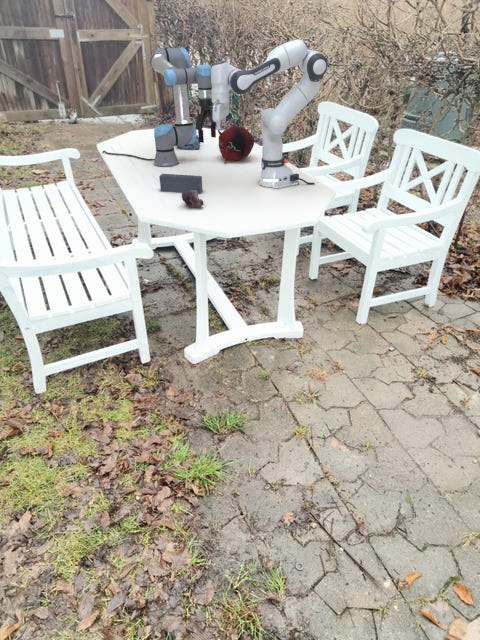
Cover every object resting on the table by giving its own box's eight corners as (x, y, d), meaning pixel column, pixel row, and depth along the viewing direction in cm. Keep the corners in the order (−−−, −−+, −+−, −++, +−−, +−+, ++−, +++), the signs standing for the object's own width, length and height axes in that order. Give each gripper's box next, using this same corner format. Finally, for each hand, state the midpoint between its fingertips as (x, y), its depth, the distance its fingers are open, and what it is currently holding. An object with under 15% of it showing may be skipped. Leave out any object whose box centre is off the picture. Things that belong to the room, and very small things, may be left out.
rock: (197, 203, 236) (179, 206, 232) (195, 186, 232) (177, 189, 228) (206, 207, 226) (187, 210, 222) (204, 189, 223) (185, 192, 219)
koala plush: (200, 149, 323) (198, 120, 312) (175, 150, 322) (172, 121, 311) (200, 144, 337) (198, 115, 326) (176, 144, 336) (173, 116, 325)
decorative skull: (215, 132, 306) (215, 129, 282) (249, 124, 305) (251, 121, 281) (222, 164, 313) (222, 164, 289) (255, 157, 312) (258, 156, 288)
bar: (160, 191, 250) (159, 176, 245) (163, 188, 253) (162, 173, 249) (200, 193, 245) (199, 178, 241) (202, 191, 249) (201, 175, 244)
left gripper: (199, 102, 229) (201, 145, 241) (222, 95, 248) (224, 135, 260) (187, 101, 232) (190, 143, 244) (211, 94, 251) (212, 134, 263)
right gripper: (221, 102, 217) (222, 132, 225) (231, 95, 234) (231, 123, 241) (208, 101, 218) (210, 131, 226) (219, 95, 235) (220, 123, 243)
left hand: (207, 139), depth 252 cm, fingers open, 13 cm apart
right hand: (221, 127), depth 234 cm, fingers open, 8 cm apart
